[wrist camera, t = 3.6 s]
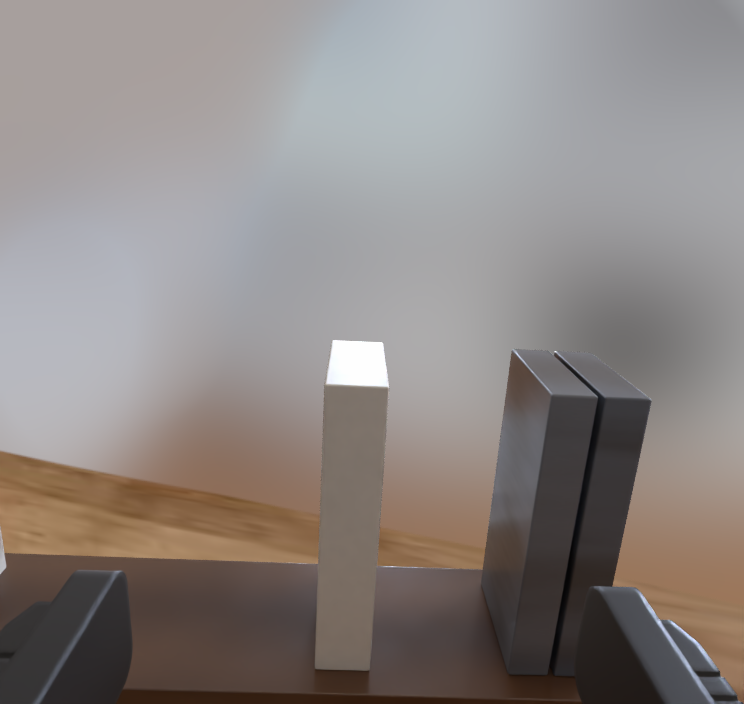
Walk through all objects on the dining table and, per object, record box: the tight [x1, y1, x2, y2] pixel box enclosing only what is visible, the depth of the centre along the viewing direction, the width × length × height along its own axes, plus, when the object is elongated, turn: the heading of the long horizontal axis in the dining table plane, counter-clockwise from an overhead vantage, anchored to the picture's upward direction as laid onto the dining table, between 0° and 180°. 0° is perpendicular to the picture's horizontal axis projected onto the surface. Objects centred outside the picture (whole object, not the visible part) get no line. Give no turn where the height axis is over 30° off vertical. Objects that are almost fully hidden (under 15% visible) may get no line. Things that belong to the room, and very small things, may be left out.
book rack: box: [0, 349, 651, 704], centre depth 22 cm, size 7×27×12 cm, turn 92°
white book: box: [315, 340, 389, 671], centre depth 22 cm, size 5×2×11 cm, turn 1°
